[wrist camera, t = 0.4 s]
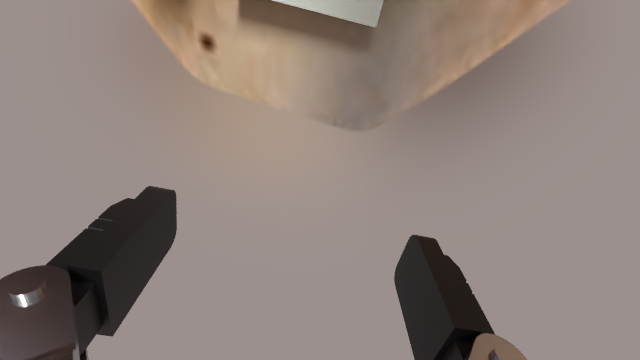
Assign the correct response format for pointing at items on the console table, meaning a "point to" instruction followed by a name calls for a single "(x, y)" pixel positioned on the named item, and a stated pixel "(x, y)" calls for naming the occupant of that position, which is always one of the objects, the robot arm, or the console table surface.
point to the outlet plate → (343, 9)
